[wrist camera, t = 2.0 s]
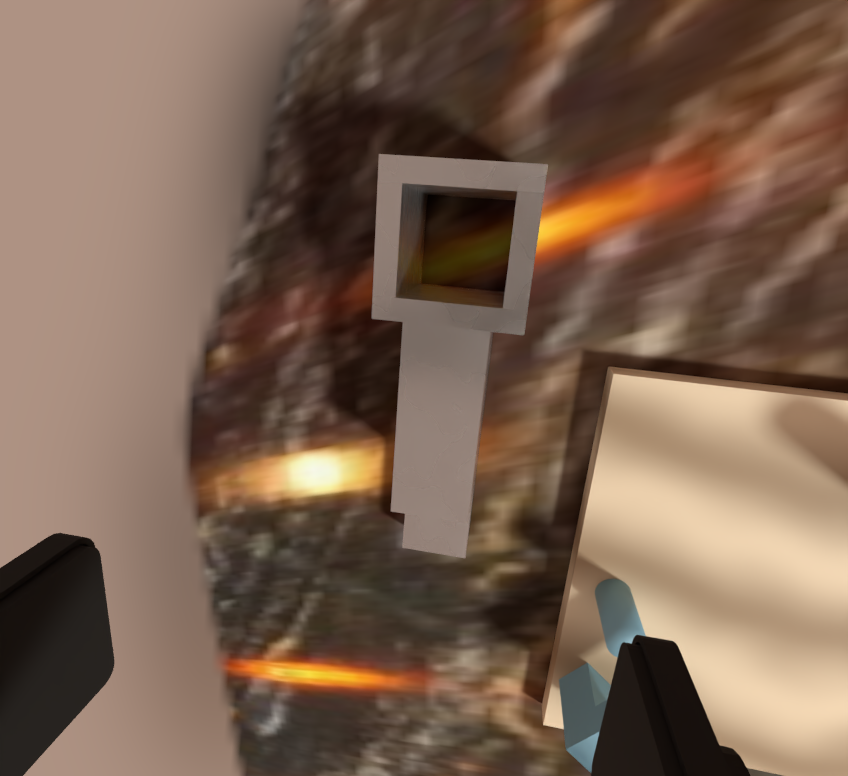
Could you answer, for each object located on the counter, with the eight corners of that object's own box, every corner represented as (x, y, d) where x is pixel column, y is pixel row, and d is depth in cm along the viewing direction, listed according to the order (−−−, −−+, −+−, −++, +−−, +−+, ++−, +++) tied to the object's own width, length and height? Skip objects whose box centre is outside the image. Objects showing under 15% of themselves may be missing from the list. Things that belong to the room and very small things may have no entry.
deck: (608, 366, 21) (613, 373, 20) (1041, 415, 19) (1074, 426, 18) (541, 704, 27) (543, 724, 26) (868, 771, 25) (885, 796, 24)
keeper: (610, 556, 24) (633, 632, 19) (681, 627, 24) (720, 717, 20) (515, 620, 26) (515, 702, 21) (582, 685, 26) (597, 778, 22)
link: (409, 171, 20) (378, 154, 16) (539, 180, 20) (547, 164, 15) (387, 525, 26) (359, 591, 21) (490, 542, 25) (485, 614, 20)
